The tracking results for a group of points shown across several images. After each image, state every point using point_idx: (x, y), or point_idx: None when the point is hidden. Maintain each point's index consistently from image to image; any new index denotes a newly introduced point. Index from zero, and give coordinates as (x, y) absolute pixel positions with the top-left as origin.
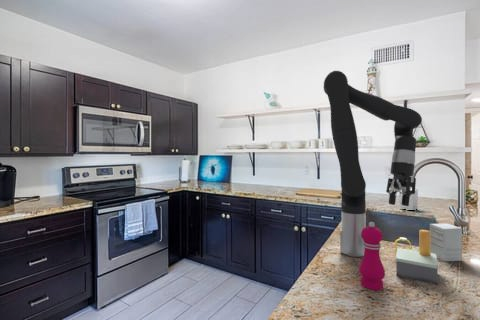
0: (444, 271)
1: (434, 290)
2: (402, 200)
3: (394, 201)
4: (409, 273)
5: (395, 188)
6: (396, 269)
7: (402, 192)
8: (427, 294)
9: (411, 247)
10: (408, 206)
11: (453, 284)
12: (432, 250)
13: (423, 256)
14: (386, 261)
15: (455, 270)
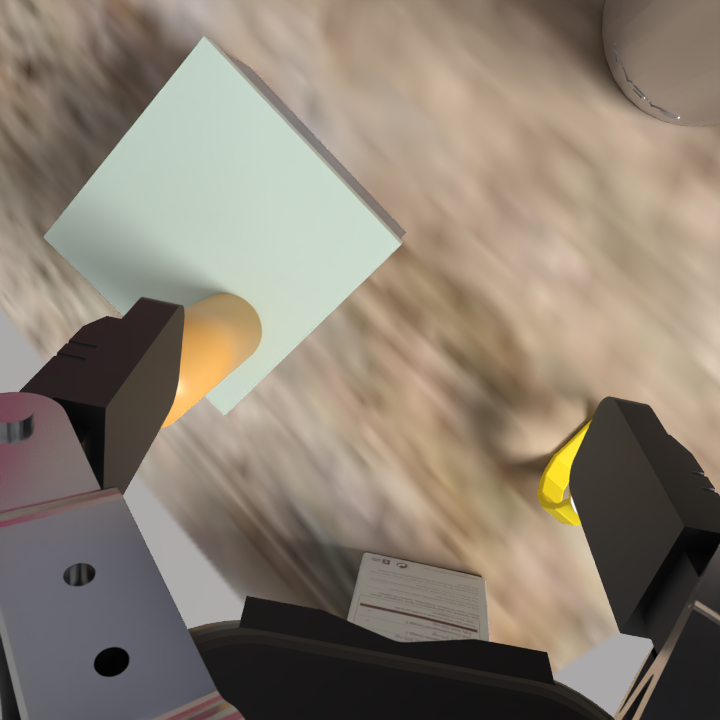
0: (248, 420)
1: (59, 147)
2: (130, 334)
3: (590, 510)
4: None
5: (510, 646)
6: (236, 61)
7: (74, 443)
8: (25, 65)
9: (538, 496)
10: None
11: (107, 315)
12: (460, 593)
13: (197, 285)
14: (467, 180)
15: (248, 490)
